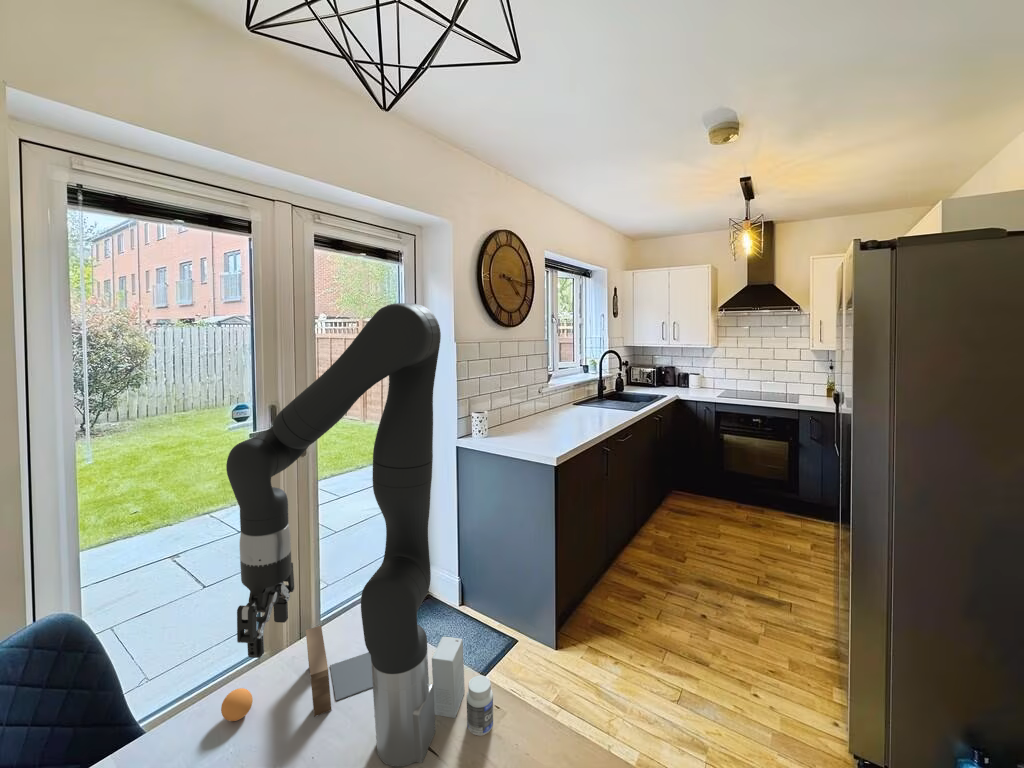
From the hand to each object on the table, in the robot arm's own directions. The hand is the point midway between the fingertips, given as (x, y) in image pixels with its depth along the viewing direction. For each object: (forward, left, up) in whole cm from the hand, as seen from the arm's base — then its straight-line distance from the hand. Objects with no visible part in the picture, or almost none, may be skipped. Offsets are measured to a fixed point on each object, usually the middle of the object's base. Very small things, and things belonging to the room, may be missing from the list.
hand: (269, 637), depth 79 cm
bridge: (-1, -10, -19) cm, 21 cm away
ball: (+9, -1, -16) cm, 19 cm away
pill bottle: (-35, -9, -19) cm, 41 cm away
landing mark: (-7, -15, -19) cm, 25 cm away
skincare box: (-28, -12, -19) cm, 36 cm away
